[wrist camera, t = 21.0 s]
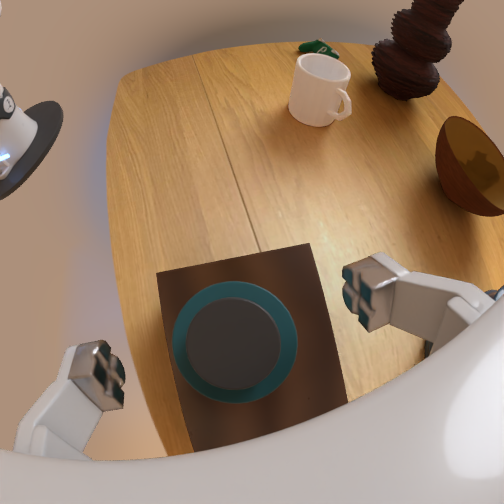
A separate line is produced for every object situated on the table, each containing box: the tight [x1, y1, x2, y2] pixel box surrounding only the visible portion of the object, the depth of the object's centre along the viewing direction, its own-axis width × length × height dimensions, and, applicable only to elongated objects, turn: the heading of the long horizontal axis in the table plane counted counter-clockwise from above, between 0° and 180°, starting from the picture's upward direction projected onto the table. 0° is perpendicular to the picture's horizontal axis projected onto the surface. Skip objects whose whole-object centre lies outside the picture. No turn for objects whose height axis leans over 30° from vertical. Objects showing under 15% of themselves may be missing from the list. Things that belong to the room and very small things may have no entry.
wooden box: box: [156, 243, 348, 452], centre depth 25 cm, size 14×20×8 cm
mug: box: [288, 53, 352, 127], centre depth 35 cm, size 8×12×10 cm, turn 23°
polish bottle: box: [172, 281, 298, 404], centre depth 15 cm, size 5×5×14 cm
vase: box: [371, 0, 464, 101], centre depth 31 cm, size 15×15×30 cm
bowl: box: [435, 116, 504, 217], centre depth 33 cm, size 18×18×10 cm
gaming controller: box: [298, 38, 339, 60], centre depth 45 cm, size 9×4×6 cm
